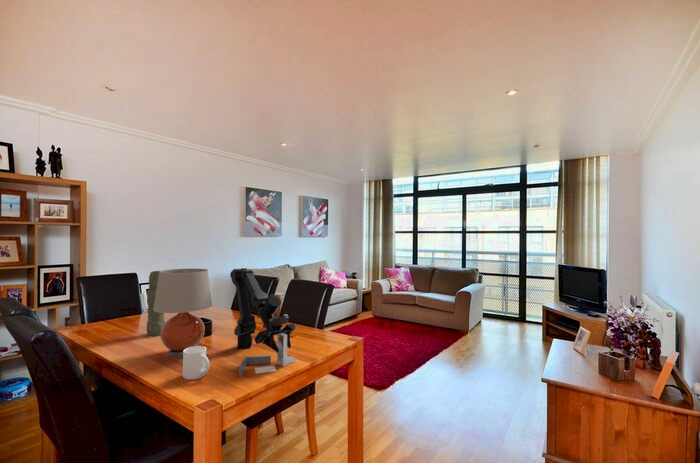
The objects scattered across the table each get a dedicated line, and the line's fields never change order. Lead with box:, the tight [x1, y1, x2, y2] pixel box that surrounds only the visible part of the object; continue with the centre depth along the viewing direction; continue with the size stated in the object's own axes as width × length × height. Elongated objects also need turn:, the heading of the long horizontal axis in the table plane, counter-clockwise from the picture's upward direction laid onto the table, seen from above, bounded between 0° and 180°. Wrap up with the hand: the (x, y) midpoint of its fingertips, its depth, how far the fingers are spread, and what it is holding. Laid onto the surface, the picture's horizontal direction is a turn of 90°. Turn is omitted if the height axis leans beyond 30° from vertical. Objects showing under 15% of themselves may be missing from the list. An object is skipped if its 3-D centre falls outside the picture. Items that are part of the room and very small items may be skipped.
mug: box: [182, 345, 210, 381], centre depth 129 cm, size 12×8×10 cm
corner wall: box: [238, 354, 272, 377], centre depth 137 cm, size 11×13×3 cm
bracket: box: [276, 333, 297, 367], centre depth 144 cm, size 7×4×13 cm, turn 140°
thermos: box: [146, 270, 166, 338], centre depth 183 cm, size 9×12×35 cm
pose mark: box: [254, 365, 277, 375], centre depth 136 cm, size 8×6×1 cm
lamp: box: [153, 268, 213, 359], centre depth 155 cm, size 25×25×39 cm
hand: (284, 349), depth 141 cm, fingers open, 6 cm apart
